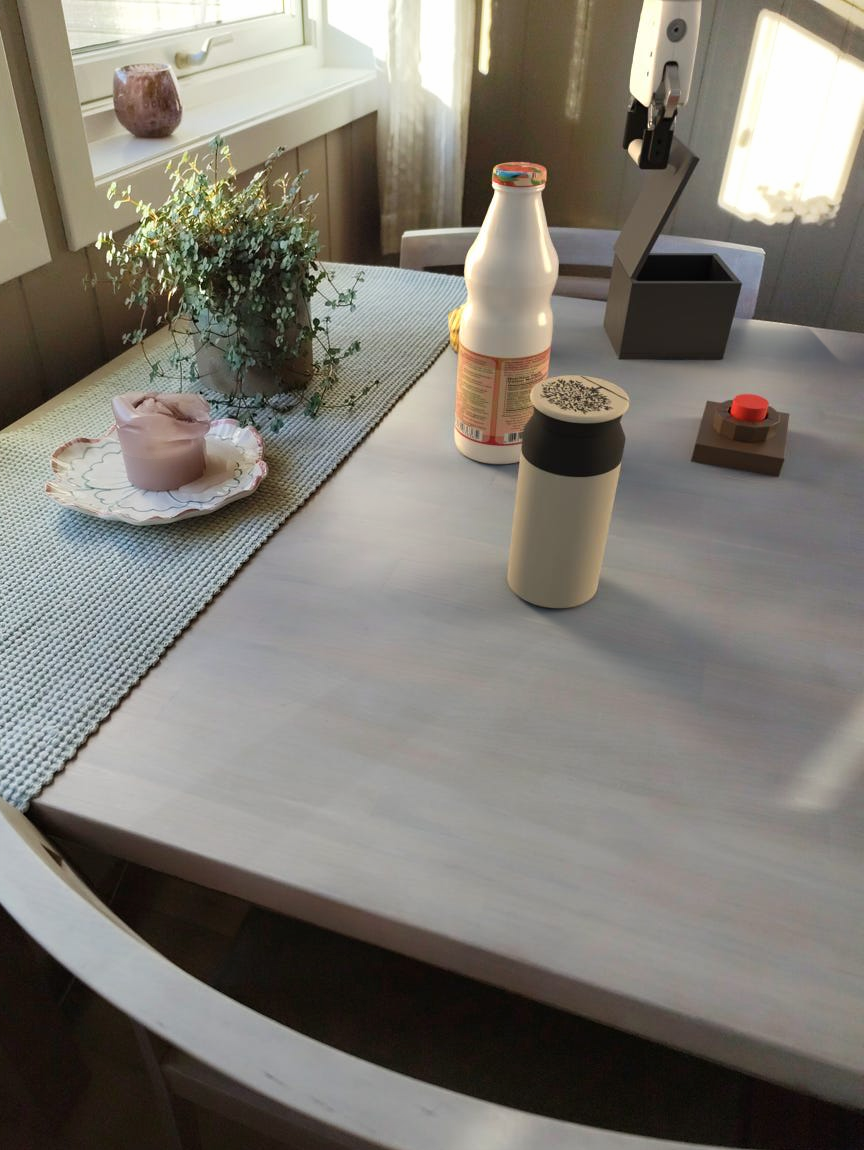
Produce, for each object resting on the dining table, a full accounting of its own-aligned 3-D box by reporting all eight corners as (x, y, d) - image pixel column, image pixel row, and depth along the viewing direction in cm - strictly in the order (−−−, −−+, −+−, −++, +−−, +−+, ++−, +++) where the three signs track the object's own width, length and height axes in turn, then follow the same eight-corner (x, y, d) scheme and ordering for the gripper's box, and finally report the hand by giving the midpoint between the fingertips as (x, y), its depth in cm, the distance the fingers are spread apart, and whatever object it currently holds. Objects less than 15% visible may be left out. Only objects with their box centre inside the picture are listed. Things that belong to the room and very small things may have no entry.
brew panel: (702, 417, 104) (710, 385, 102) (784, 431, 102) (794, 398, 99) (690, 461, 97) (699, 428, 94) (778, 477, 94) (789, 443, 91)
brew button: (731, 406, 99) (735, 391, 97) (765, 411, 98) (770, 396, 96) (728, 420, 96) (732, 405, 95) (763, 426, 95) (767, 411, 94)
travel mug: (538, 621, 76) (565, 427, 64) (490, 571, 82) (507, 384, 70) (615, 596, 79) (655, 406, 67) (563, 549, 84) (592, 366, 72)
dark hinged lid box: (700, 325, 125) (716, 253, 119) (723, 359, 117) (742, 283, 110) (603, 325, 126) (614, 252, 119) (618, 359, 117) (631, 283, 110)
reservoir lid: (676, 136, 110) (634, 117, 109) (700, 158, 101) (655, 139, 100) (617, 250, 119) (578, 234, 118) (635, 280, 110) (593, 264, 109)
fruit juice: (443, 458, 97) (456, 176, 79) (465, 420, 104) (482, 152, 86) (529, 472, 95) (562, 184, 77) (546, 432, 102) (580, 159, 83)
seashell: (503, 380, 122) (524, 323, 121) (502, 366, 115) (524, 305, 114) (436, 357, 123) (457, 301, 122) (431, 342, 116) (453, 282, 115)
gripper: (732, -11, 89) (692, 177, 100) (689, -26, 102) (658, 142, 113) (657, -12, 89) (625, 177, 100) (623, -27, 102) (599, 141, 113)
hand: (643, 158), depth 107 cm, fingers open, 9 cm apart
